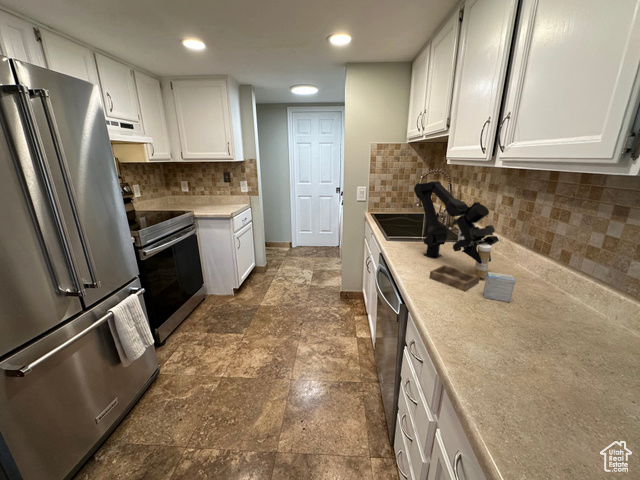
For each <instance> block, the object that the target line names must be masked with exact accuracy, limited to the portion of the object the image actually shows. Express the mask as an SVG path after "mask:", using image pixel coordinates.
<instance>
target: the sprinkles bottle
mask: <svg viewBox="0 0 640 480" xmlns="http://www.w3.org/2000/svg"><path fill="white" fill-rule="evenodd" d="M492 248H493V245H488V244H479V245H477V251H478V254H479V256H480V258H481V261H482V263H478V262H477V261H476V260H475V266H474V272H473V274H474V275H478V276H480V279H484V278H485V279H486V275H487V272H488V267H489V263H490V262H489V257H490V255H491V251H492Z"/></svg>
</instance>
